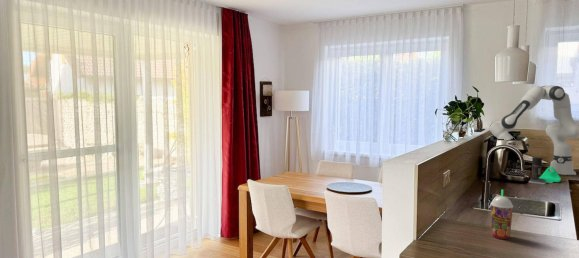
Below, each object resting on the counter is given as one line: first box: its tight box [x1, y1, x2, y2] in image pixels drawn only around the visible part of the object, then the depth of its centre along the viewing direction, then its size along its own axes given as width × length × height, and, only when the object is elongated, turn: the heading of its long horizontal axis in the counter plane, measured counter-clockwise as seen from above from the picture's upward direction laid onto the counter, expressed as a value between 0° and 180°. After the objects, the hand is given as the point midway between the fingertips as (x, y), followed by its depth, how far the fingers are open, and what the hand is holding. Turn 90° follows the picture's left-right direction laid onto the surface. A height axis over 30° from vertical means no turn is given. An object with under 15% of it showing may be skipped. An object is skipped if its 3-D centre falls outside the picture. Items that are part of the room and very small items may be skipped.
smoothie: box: [490, 189, 514, 240], centre depth 161 cm, size 8×8×20 cm
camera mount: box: [539, 166, 562, 183], centre depth 273 cm, size 12×8×10 cm, turn 47°
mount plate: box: [528, 177, 549, 185], centre depth 270 cm, size 10×10×2 cm
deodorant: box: [531, 156, 543, 178], centre depth 287 cm, size 6×6×15 cm
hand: (520, 153), depth 294 cm, fingers open, 8 cm apart
